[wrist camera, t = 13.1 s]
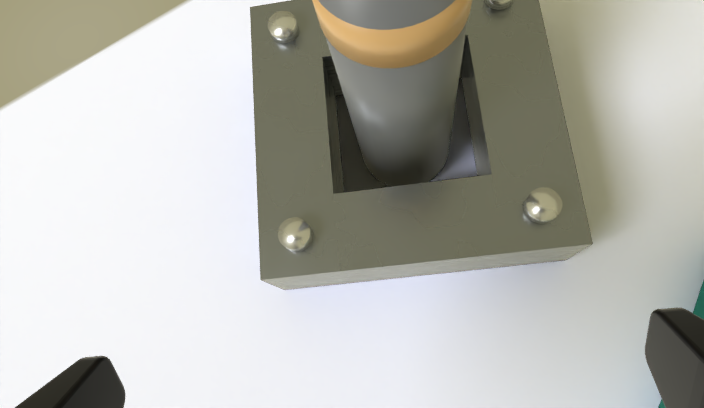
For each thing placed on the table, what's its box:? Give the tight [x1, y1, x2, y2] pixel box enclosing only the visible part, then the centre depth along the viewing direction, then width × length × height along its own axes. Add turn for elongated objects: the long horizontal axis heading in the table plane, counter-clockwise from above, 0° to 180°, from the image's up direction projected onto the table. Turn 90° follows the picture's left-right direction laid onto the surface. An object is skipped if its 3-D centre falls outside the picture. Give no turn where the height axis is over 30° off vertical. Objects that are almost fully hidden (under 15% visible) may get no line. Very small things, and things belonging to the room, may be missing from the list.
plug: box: [312, 0, 472, 186], centre depth 17 cm, size 4×4×13 cm
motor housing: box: [250, 0, 593, 290], centre depth 22 cm, size 12×12×4 cm
